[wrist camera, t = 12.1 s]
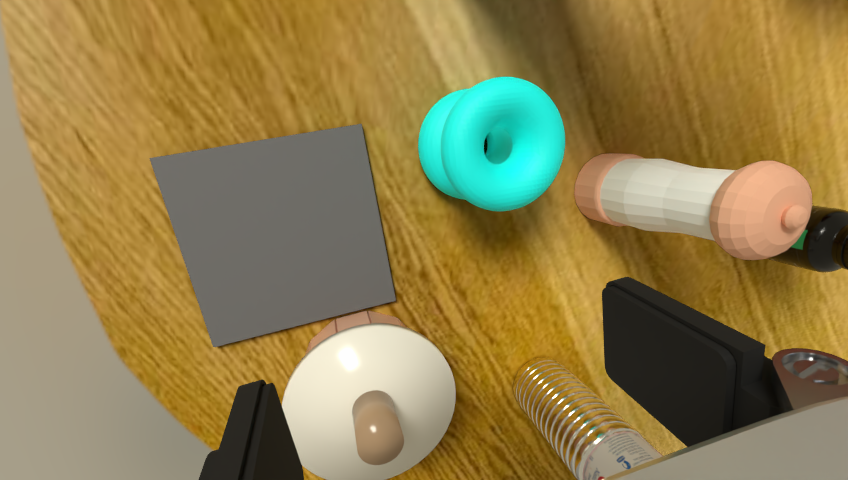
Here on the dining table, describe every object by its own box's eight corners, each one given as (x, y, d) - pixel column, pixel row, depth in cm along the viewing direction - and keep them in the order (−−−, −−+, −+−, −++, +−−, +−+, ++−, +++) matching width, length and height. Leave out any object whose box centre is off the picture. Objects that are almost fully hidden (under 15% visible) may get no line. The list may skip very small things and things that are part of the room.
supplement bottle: (721, 234, 50) (840, 261, 39) (755, 188, 50) (884, 201, 38) (750, 262, 52) (870, 295, 41) (782, 218, 52) (912, 239, 41)
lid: (438, 303, 36) (459, 330, 31) (463, 443, 40) (484, 487, 35) (260, 351, 33) (250, 390, 28) (306, 498, 37) (305, 555, 32)
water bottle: (518, 352, 46) (729, 569, 23) (569, 355, 48) (812, 558, 25) (504, 406, 48) (691, 665, 24) (555, 407, 49) (774, 647, 26)
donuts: (574, 202, 32) (455, 224, 30) (516, 189, 42) (422, 205, 40) (571, 67, 30) (440, 81, 28) (509, 85, 39) (408, 96, 37)
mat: (360, 124, 36) (361, 123, 36) (394, 298, 41) (396, 300, 40) (152, 157, 33) (149, 158, 32) (215, 344, 38) (213, 347, 37)
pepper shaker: (620, 140, 44) (836, 138, 25) (640, 199, 46) (852, 236, 28) (564, 174, 43) (747, 198, 25) (587, 232, 45) (770, 293, 27)
